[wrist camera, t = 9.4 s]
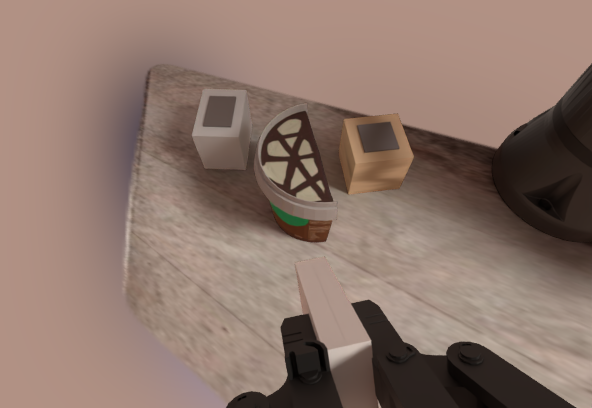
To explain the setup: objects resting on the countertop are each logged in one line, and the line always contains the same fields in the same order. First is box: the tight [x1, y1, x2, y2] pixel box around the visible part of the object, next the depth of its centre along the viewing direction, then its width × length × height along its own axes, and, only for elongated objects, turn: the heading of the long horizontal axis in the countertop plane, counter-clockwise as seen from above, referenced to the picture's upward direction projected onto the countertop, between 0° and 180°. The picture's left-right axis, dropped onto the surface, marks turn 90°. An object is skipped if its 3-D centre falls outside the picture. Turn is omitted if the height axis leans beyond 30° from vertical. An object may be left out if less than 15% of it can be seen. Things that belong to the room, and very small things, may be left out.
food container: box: [254, 103, 337, 242], centre depth 35 cm, size 12×6×10 cm, turn 12°
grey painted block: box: [192, 89, 252, 170], centre depth 41 cm, size 5×7×6 cm
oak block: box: [338, 114, 414, 194], centre depth 40 cm, size 6×6×6 cm
